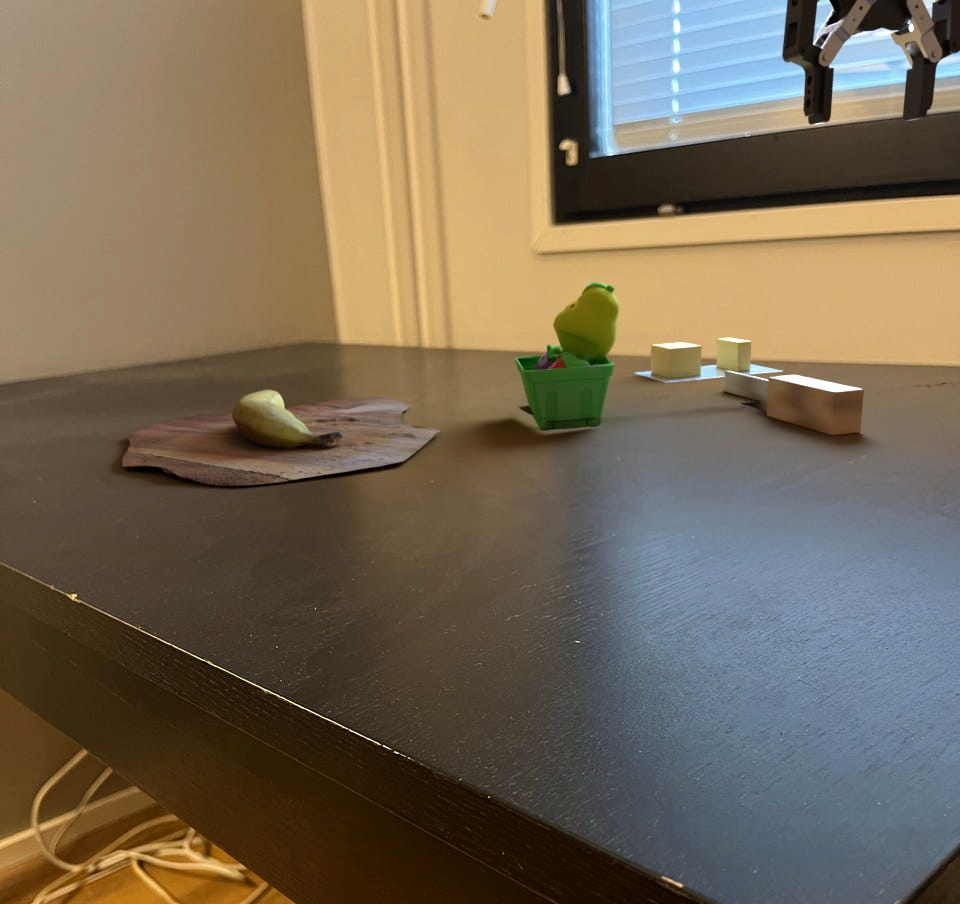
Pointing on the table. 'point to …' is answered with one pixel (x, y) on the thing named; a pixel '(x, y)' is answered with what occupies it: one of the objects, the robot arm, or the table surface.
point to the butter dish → (709, 373)
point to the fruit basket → (574, 362)
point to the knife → (802, 401)
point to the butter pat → (734, 354)
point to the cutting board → (279, 440)
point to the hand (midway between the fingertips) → (867, 121)
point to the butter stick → (676, 360)
